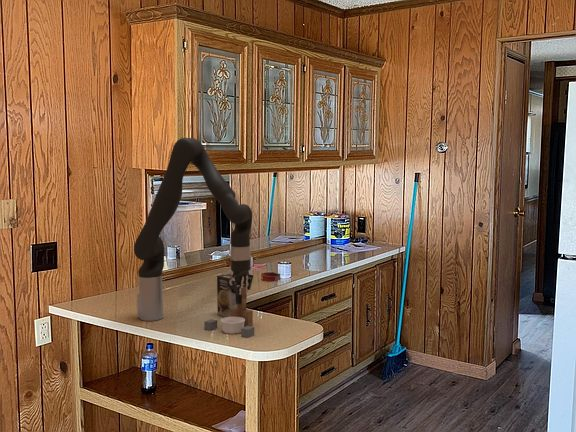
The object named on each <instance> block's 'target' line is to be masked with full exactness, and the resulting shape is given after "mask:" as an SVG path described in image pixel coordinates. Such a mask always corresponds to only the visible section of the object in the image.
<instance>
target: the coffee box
mask: <svg viewBox="0 0 576 432" xmlns="http://www.w3.org/2000/svg"><path fill="white" fill-rule="evenodd" d="M232 276H233V275H231V274H227V273H226V274H220V275H219V274H218V275H217V276H216V289H217V292H216V293H217V295H216V296H217V299H216V301H217V305H216V306H217V307H216V308H217V315H219V316H221V317H223V318H225V317H231V309H232V308H235V307H237V304H236V295H235V294H234V293H232V292H231V290H230V287H229V284H228V280H231V279H232ZM237 286H239V285H237Z"/></svg>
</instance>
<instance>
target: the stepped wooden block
mask: <svg viewBox="0 0 576 432" xmlns="http://www.w3.org/2000/svg"><path fill="white" fill-rule="evenodd" d="M237 289H238V291H239V288H237ZM241 295H242V304H237V307H235V308H232V309H231V317H242V318H244V319H245V322H244V327H246V326H252V327H254V326H253V325H254V324H253V323H254V322H253V321H254V319H253V317H254V315H253V314H254V313H253V309H247V299H246V297H247V296H246V286H243V288H242V293H241Z"/></svg>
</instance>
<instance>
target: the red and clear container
mask: <svg viewBox="0 0 576 432" xmlns="http://www.w3.org/2000/svg"><path fill="white" fill-rule="evenodd" d="M263 266H264V267H265V268H266V269H267V270H269V271H270V272H269V271H268V272H262V273H261V274H260V275H261V276H260V277H261V278H260V279H261V281H262V282H267V283H270V282H271V283H272V282H273V283H274V281H275V282H279V281H281V273H280V272H277V271H275V270H272V269H271V268H269V267H267V266H266V265H265V264H263ZM278 280H279V281H278Z"/></svg>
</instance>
